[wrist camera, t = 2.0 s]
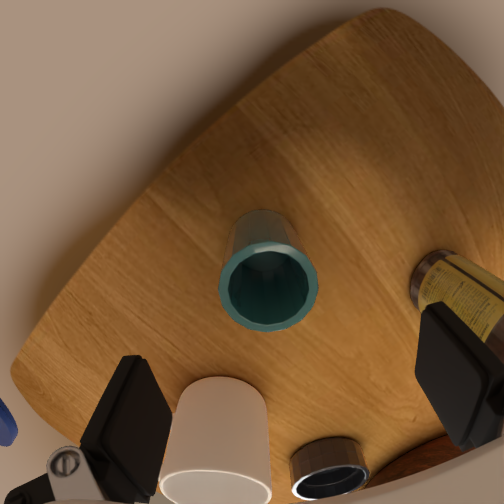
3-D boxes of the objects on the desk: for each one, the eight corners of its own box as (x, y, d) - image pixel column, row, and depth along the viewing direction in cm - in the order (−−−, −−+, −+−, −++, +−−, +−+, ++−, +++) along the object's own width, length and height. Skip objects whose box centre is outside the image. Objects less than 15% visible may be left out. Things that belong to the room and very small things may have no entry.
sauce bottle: (411, 321, 26) (530, 492, 7) (401, 262, 24) (570, 438, 5) (465, 293, 25) (599, 427, 6) (460, 235, 23) (637, 356, 5)
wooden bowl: (407, 420, 31) (437, 484, 21) (510, 414, 33) (537, 453, 23) (320, 510, 38) (328, 559, 29) (428, 498, 41) (442, 534, 31)
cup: (235, 279, 24) (230, 338, 17) (221, 216, 23) (208, 252, 15) (300, 267, 24) (322, 322, 17) (290, 203, 23) (311, 233, 15)
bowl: (292, 478, 34) (295, 505, 30) (284, 443, 31) (288, 474, 27) (358, 464, 33) (366, 490, 29) (362, 427, 31) (372, 456, 26)
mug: (136, 374, 28) (102, 460, 17) (262, 369, 27) (267, 467, 17) (161, 430, 30) (142, 509, 20) (269, 427, 30) (275, 513, 20)
